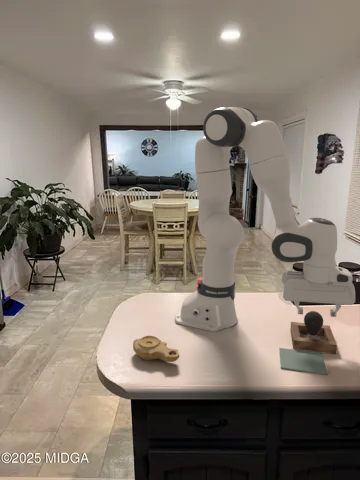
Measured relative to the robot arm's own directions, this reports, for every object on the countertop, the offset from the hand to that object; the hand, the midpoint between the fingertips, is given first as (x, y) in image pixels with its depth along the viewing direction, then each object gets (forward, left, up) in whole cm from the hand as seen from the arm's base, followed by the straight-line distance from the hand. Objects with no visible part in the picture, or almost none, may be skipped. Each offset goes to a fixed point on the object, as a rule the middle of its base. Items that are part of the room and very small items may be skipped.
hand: (316, 314), depth 101 cm
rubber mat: (-5, -12, -9) cm, 16 cm away
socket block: (-1, 0, -9) cm, 9 cm away
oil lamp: (-46, -20, -10) cm, 51 cm away
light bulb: (-1, 0, -9) cm, 9 cm away
